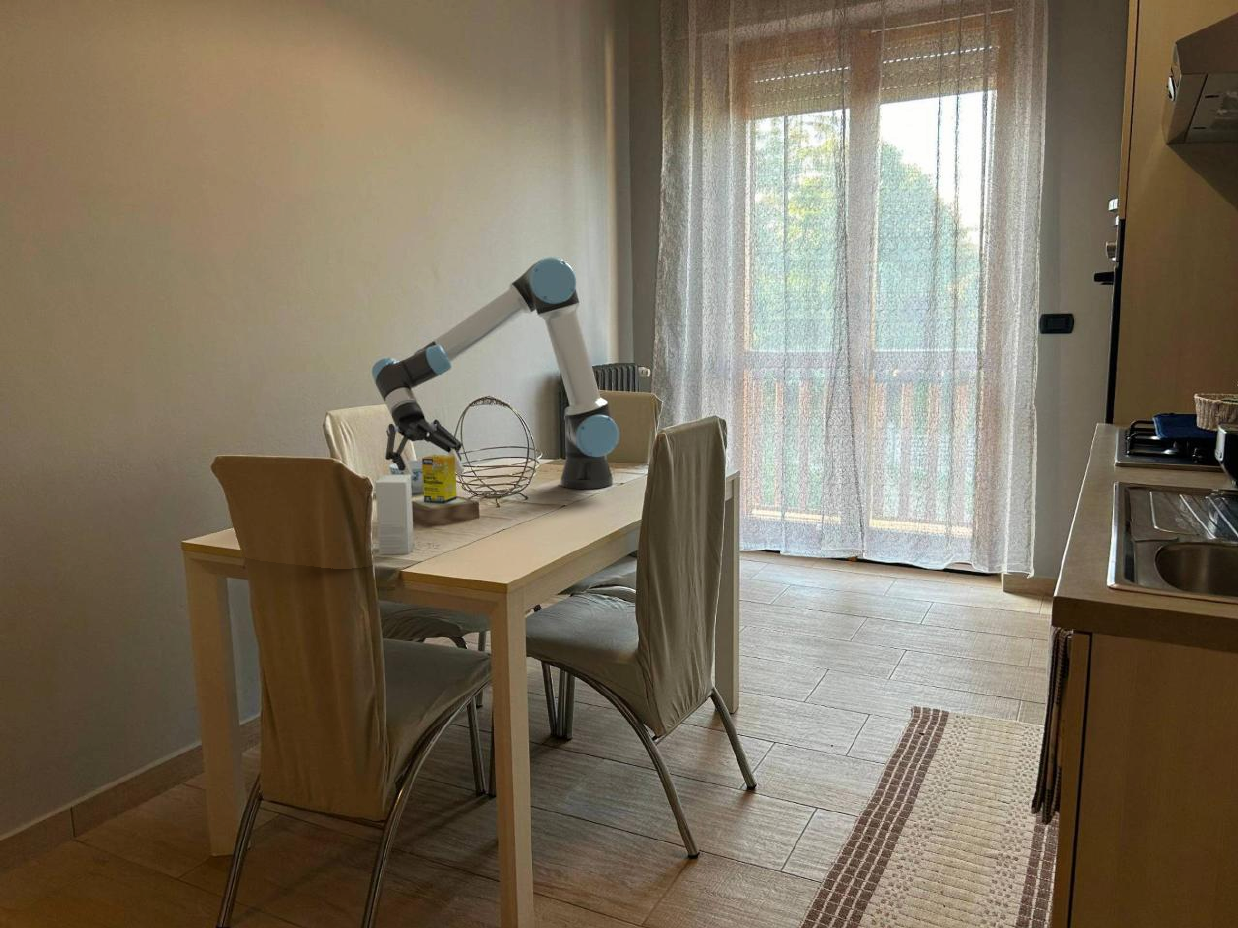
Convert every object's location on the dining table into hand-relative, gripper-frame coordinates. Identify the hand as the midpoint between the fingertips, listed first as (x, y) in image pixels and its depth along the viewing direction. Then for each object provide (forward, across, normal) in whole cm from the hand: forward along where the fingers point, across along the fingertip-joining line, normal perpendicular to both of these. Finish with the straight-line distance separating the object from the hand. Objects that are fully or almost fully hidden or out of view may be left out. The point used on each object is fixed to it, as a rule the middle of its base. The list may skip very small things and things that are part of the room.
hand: (436, 475), depth 224 cm
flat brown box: (+8, 0, -7) cm, 10 cm away
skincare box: (+23, +22, +8) cm, 33 cm away
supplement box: (+5, 0, -4) cm, 6 cm away
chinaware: (-19, -14, -34) cm, 41 cm away
